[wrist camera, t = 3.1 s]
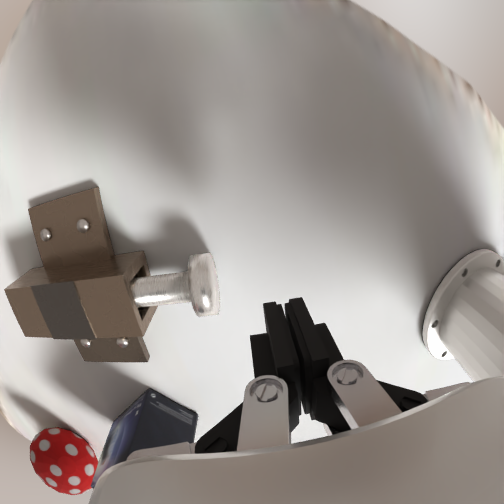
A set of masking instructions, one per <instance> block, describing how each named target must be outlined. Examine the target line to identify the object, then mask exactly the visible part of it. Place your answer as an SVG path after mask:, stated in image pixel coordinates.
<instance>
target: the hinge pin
mask: <svg viewBox="0 0 504 504" xmlns="http://www.w3.org/2000/svg"><path fill="white" fill-rule="evenodd" d="M129 284H130V287H131V290H132V293H133V296H134V299H135V302H136V305H137V307H146V306H157V305H168V304H178V303H188V302H192V306H193V309H194V311H195V313H196V315H197V316H198V317H203V316H213V315H219V312H220V293H219V284H218V277H217V271H216V266H215V262H214V259H213V256H212V254H211V253H204V254H196V255H191V256H190V257H189V260H188V271H186V272H179V273H171V274H163V275H155V276H146V277H138V278H133V279H132V280H131V281H130V283H129Z"/></svg>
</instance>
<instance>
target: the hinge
mask: <svg viewBox="0 0 504 504" xmlns="http://www.w3.org/2000/svg"><path fill="white" fill-rule="evenodd" d="M28 211H29V215H30V220H31V224H32V228H33V232H34V235H35V239H36V242H37V246H38V249H39V253H40V256H41V259H42V262H43V265H44V267H39V268H33V269H31V270H30V271H28V272H27V273H25V274H24V275H23V276H21V277H20V278H19V279H17V280H16V281H15V282H13V283H12V284H11V285H9V286H8V287H7V288H6V289H4V290H5V293H6V295H7V298H8V300H9V303H10V305H11V307H12V310H13V312H14V314H15V316H16V319H17V321H18V323H19V325H20V327H21V329H22V331H23V333H24V335H25V337H47V338H53V339H74V341H75V343H76V345H77V347H78V349H79V351H80V353H81V355H82V357H83V359H84V361H92V362H148V360H149V357H150V355H149V353H148V350H147V348H146V346H145V343H144V341H143V338H142V337H143V336H144V334H145V332H146V330H147V328H148V326H149V323H150V321H151V319H152V317H153V315H154V313H155V311H156V309H157V307H158V305H157V306H146V307H137V305H136V302H135V299H134V296H133V293H132V290H131V287H130V284H129V283H130V281H131V280H132V279H133V278H138V277H146V276H151V275H150V272H149V268H148V264H147V261H146V257H145V253H144V251H137V252H131V253H124V254H118V255H114V251H113V247H112V244H111V240H110V236H109V232H108V228H107V224H106V220H105V215H104V211H103V206H102V201H101V197H100V192H99V187H96V188H92V189H89V190H85V191H82V192H78V193H75V194H72V195H68V196H65V197H62V198H59V199H56V200H52V201H49V202H46V203H43V204H40V205H38V206H35V207H32V208H29V209H28Z"/></svg>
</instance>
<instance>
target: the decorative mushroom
mask: <svg viewBox="0 0 504 504" xmlns="http://www.w3.org/2000/svg"><path fill="white" fill-rule="evenodd" d="M30 460H31V463H32V465H33V468H34V470H35V472H36V474H37V475H38V476H39V477H40V478H41V479H42V481H43V482H44V483H45V484H46V485H48V486H49V487H51V488H53V489H55V490H56V491H58V492H60V493H65V494H70V495H77V494H82V493H86V492H87V491H88V490H90V489H91V488H92V487H91V484H92V480H93V477H94V474H95V471H96V468H97V465H98V460H97V458H96V455H95V453H94V450H93V449H92V448H91V447H90V446H89V444H88V443H87V442H86V441H85V440H84V439H83V438H82V437H80V436H78V435H77V434H75V433H74V432H72V431H70V430H66V429H62V428H59V427H57V428H48V429H44V430H43V431H41V432H40V433H38V434H37V435H35V437H34V439H33V441H32V443H31V445H30Z"/></svg>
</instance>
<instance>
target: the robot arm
mask: <svg viewBox="0 0 504 504" xmlns="http://www.w3.org/2000/svg"><path fill="white" fill-rule="evenodd" d="M263 308H264V316H265V323H266V331H267V333H264V334H257V335H250V341H251V350H252V358H253V367H254V376H255V379H253V380H252V381H250V382H249V383H248V385H247V386H246V389H245V393H244V401H243V402H242V403H241V404H240V405H239V406H238V407H237V408H235V409H234V410H233V411H232V412H231V413H230V414H229V415H227V416H226V417H225V418H224V419H223V420H221V421H220V422H219V423H218V424H217V425H215V426H214V427H213V428H212V429H211V430H209V431H208V432H207V433H206V434H204V435H203V436H202V437H201V438H200V439H199V440H198V441H197V442H196V443H191V444H189V443H188V442H183V443H178V444H173V445H167V446H161V447H155V448H148V449H141V450H137V451H134V452H133V453H131V454H130V455H129V456H128V458H127V459H126V461H125V462H121V463H119V464H116V465H114V466H111V467H110V468H108V469H107V470H105V471H104V472H103V473H102V475H101V476H100V477H99V479H98V481H97V483H96V485H95V487H94V489H93V492H92V495H91V498H90V501H89V504H504V260H503V258H502V257H501V256H500V255H498V254H497V253H495V252H493V251H491V250H489V249H481V250H476V251H474V252H472V253H470V254H468V255H467V256H465V257H464V258H463V259H461V260H460V261H459V262H458V263H457V264H456V265H455V266H454V267H453V268H452V269H451V270H450V271H449V273H448V274H447V275H446V276H445V278H444V279H443V280H442V282H441V283H440V285H439V287H438V288H437V290H436V292H435V294H434V296H433V298H432V299H431V301H430V304H429V307H428V309H427V312H426V315H425V319H424V323H423V341H424V344H425V346H426V348H427V349H428V351H429V352H430V353H431V355H433V356H434V357H435V358H437V359H441V360H448V359H452V358H455V359H456V361H457V362H458V363H459V364H460V365H461V367H462V368H463V369H464V370H465V372H466V373H467V374H468V375H469V377H470V378H471V379H472V380H473V383H469V382H465V383H460V384H456V385H452V386H448V387H444V388H439V389H435V390H430V391H426V392H425V394H423V395H422V394H421V393H418V392H416V391H413V390H409V389H405V388H402V387H398V386H395V385H391V384H388V383H384V382H381V381H378V380H376V379H375V378H374V377H373V376H372V374H371V373H370V372H369V371H368V369H367V368H366V367H365V366H364V365H363V364H362V363H360V362H358V361H354V360H344V359H343V357H342V355H341V353H340V351H339V349H338V347H337V345H336V343H335V341H334V339H333V337H332V335H331V333H330V331H329V329H328V328H327V326H326V324H325V323H321V324H316V325H314V323H313V320H312V318H311V316H310V314H309V312H308V309H307V307H306V305H305V303H304V301H303V299H302V297H300V298H294V299H289V303H285V315H286V318H285V315H284V311H283V308H282V305H281V304H278V305H277V304H276V302H270V303H263ZM301 402H302V405H303V409H304V412H305V414H308V413H310V416H311V420H317V421H319V422H322V423H324V424H323V426H324V429H325V431H326V433H327V435H328V436H326V437H321V438H317V439H313V440H308V441H303V442H298V443H293V444H291V432H292V431H293V430H294V429H295V427H296V426H297V425H298V424H299V415H301Z"/></svg>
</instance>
